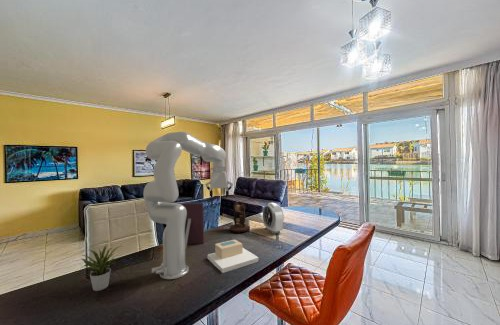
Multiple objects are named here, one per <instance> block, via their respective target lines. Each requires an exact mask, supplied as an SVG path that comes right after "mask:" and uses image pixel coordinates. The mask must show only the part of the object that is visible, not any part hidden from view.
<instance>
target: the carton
mask: <svg viewBox="0 0 500 325" xmlns="http://www.w3.org/2000/svg"><path fill="white" fill-rule="evenodd" d="M214 245H215V246H214V248H215V249H214V250H215V252H214V253H215V254H217V255H218V256H219V257H220V258H221V259H224V258H228V257H231V256H235V255H238V254H242V253H243V248H244V247H243V243H242V242H240V241H238V240H237V239H231V240H226V241H223V242H217V243H215V244H214Z"/></svg>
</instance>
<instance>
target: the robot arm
mask: <svg viewBox="0 0 500 325" xmlns="http://www.w3.org/2000/svg"><path fill="white" fill-rule="evenodd" d="M182 151H185V152H187V153H189V154H192V155H193V156H195V157H196V156H197V157H201V158H202V160H203V161H204V162H208V163H212V167H211V168H210V171H211V173H210V181H209V182H207V183H205V184H204V185H205V187H206V189H207V190H208V192H209V197H210V198H214V194H213V192H214V191H213V190H214V189H225V198H229V196H230V192H229V191H230V189H232V188H233V186H234V183H233V182H231V181H228V175H227V172H226V158H227V153H226V151H225V150H224V149H223V148H222V147H221V146H219V145H217V144H214V143H210V142H207V141H203V140H201V139H199V138H197V137H195V136H194V135H192V134H190V133H188V132H186V131H175V132H174V131H173V132H168V133H165V134H163V135H161V136H160V137H157V138H156V139H154V140H151V141H150V142H149V143H148V144H147V146H146V147H145V155H146V156H147V158H148V159H150V160H151V161H152V160H153V161H156V162H155V164H154V166H153V170H152V172H153V179H154V180H152V181H149V182H147V183H146V184H145V186H144V188H143V199H144V204H145V206H146V209H147V213H148V217H149V218H150V220H151V221H152V222H154V223H158V224H164V225H166V226H165V227H164V230H163V233H162V262H161V265H159V266H157V267H156V266H155V267H152V268H151V273H152V274H154V273H155V274H156V275H157V274H159V276H160V278H161V279H164V280H175V279H179V278H182V277H184V276H186V274H188V273H189V271H190V269H189V268H190V267H189V265H187V264H186V249H185V222H186V216H187V210H186V208H185V207H184V206H183V205H181V204H178V203H179V202H175V201H177V199H178V198H179V196H180V195H179V187H178V182H177V179H176V176H175V175H176V174H175V166H176V163H177V161H178V160H179V157H180V156H181V155H182ZM209 185H210V186H209ZM228 185H229V186H228Z"/></svg>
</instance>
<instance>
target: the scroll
mask: <svg viewBox="0 0 500 325" xmlns="http://www.w3.org/2000/svg"><path fill="white" fill-rule="evenodd" d="M233 210H234V211H233V214H234V216H233V222H234V224H232V225H230V226H229V231H231V232H233V233H234V232H235V233H238V234H240V233H243V232H247V231H250V229H251V226H250V225H248V224H246V212H245V210H246V204H244V203H241V204H240V203H239V202H235V203H234V204H233Z"/></svg>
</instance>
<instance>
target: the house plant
mask: <svg viewBox="0 0 500 325" xmlns="http://www.w3.org/2000/svg"><path fill="white" fill-rule="evenodd" d="M107 246H108V244H106V245H104V247H103V248H102V250H101V249H100V248H98V249H99V254H98V253H97V251H95V250H92V249H88V252H90V253H92V254H93V255H94V257H95V259H93V258H91V257H90V256H88V255H85V254H81V256H83V257H86V258H87V259H86V258H81V260H82V261H83V262H84V264H85V265H83V267H87V269H92V270H90V272H89V276H90V278H89V279H90V282H91V287H92V291H95V292H98V291H102V290H104V289H107V287H109V282H110V276H111V271H112V269H111V267H110V266H111V265H113V264H115V263H116V262H115V260H117V259H116V258H111V257H112V256H113V254H115V253H116V250H117V249H119V248H120V247H122V245H120V246H117V247H115V248H111V247H110V248H109V249H107ZM112 249H113V250H112ZM106 250H107V251H106ZM110 250H112V251H111V252H110ZM105 253H106V254H105ZM110 258H111V259H110ZM109 259H110V260H109Z"/></svg>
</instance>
